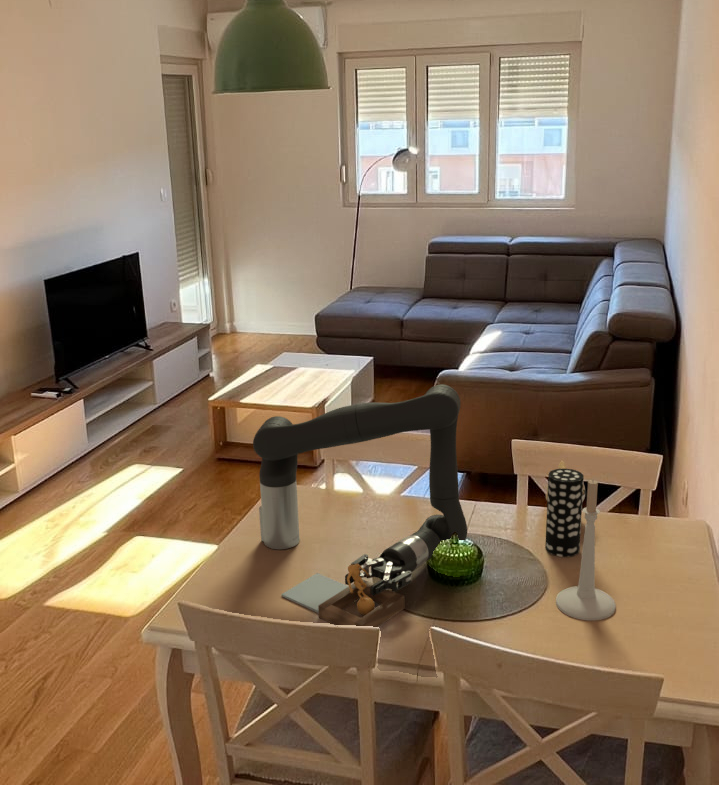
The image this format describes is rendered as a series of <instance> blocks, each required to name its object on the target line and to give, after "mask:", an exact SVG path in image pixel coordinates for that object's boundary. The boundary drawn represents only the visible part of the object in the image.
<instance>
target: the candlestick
mask: <svg viewBox="0 0 719 785" xmlns="http://www.w3.org/2000/svg"><path fill="white" fill-rule="evenodd" d="M598 485H599V482H598V481H597V480H594V479H589V480H588V481H587V491H586V507H584V508H583V507H582V512H583V513H584V516H583V517H584V519H585V521H586V524H585V525H584V535H583V536H584V537H583V544H582V552H581V561H580V568H579V569H580V571H579V579H578V585H575V586H569V587H567V588H565V589H562V590H561V591H560V592H558V593H557V595H556V598H555V604H556V607H557V608H558V609H559V611H561V612H562V613H563V614H565V615H567V616H569V617H571V618H574V619H578V620H582V621H601V620H605V619H607V618H610V617H611V616H613V614H614V613H615V612H616V605H617V604H616V601H615V600H614V598H613V597H612V596H611V595H610V594H608V593H607V592H605V591H603V590H601V589H599V588H596V586H595V585H596V584H595V583H596V582H595V580H596V577H595V576H596V574H595V573H596V572H595V570H596V567H595V566H596V565H595V562H596V560H595V558H596V556H595V554H596V547H595V546H596V544H595V543H596V542H595V541H596V531H595V530H596V525H595V522H596V520H598V514H600V513H601V511H600V509H598V507H597V500H598Z"/></svg>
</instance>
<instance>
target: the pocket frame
mask: <svg viewBox="0 0 719 785" xmlns="http://www.w3.org/2000/svg"><path fill="white" fill-rule="evenodd" d="M362 580H363V581H364V583H365V584H366V585H367V586H366V588H365V589H364V590H363V592H364V593H365V595H367V596H368V597H370V598H371V599H372V600H373V601H374V603H377V604H379V605H378V606H375V609H374V610H372V611H371V612H369V613H368V614H366V615H362V617H359V616H358V615H356V614H354V613H351V612H348V611H347V610H344V609H346V608H347V607H349V606H350V605H352V604H353V603H355V602H356V601H359V599H360V597H359V595H358V591H359V589H358V588H357V587H356V586H355V585H354V582H353V583H352V584H351V588H352V589H353V592H354V593H353V592H350V587H347V588H345V589H344V590H342V591H341V592H339V593H338V594H336V595H334V596H333V597H331V598H330V599H328V600H326V601H325V602H323V603H322V604H320V605H319V606H318V609H319V613H318V618H319V619H321V620H323V621H325V622H328V623H330V624H332V625H334V626H336V625H356V626H373V627H377V628H379V627H380V626H381V625H383V624H384V623H385V622H387V621H388V620H390V619H391V618H393V617H394V616H396V615H397V614H398V613H400V612H401V611H402V610H404V609H405V595H403V594H400V593H398V592H393V591H392V590H391V589H388V590H384V591H382V592H381V593H379V594H377V595H375V596H373V595H371V594H370V587H371V586H372V585H373V584H374V583H373V582H371V581H368V580H366V579H364V578H362ZM361 586H362V585H361ZM362 587H363V586H362ZM352 593H353V594H352ZM360 595H361V596H362V597H364V596H363V594H362V593H360Z"/></svg>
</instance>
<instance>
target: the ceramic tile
mask: <svg viewBox="0 0 719 785" xmlns="http://www.w3.org/2000/svg"><path fill="white" fill-rule="evenodd" d="M347 587H349V585H346V584H345V583H343V582H339V581H337V580H335V579H332V578H330V577H328V576H326V575H323V574H320V573H318V572H317V573H315V574H313V575H311V576H309V577H308V578H306V579H305V580H303V581H301V582H300V583H298V584H296V585H294V586H292V587H291V588H290V589H288V590H285V591H284V592H282V593H281V597H282V598H285V599H287V600H289V601H290V602H293V603H296V604H298V605H300V606H302V607H304V608H307V609H308V610H311V611H313V612H315V613H317V614H319V609H318V606H319V605H320V604H322V603H323V602H325V601H326V600H328V599H330V598H331V597H333V596H334V595H336V594H338V593H339V592H341V591H342V590H344V589H345V588H347Z"/></svg>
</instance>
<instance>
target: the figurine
mask: <svg viewBox="0 0 719 785" xmlns="http://www.w3.org/2000/svg"><path fill="white" fill-rule="evenodd" d="M359 568H360V569H361V571H363V573H364V572H365V573H366V574H367V575H368V573H367V572H366V571H365V569H363V568H362V567H361V566H360V565H359V564H355V565H351V564H350V565H349V566H347V571H348V573H349V574H348V573H347V574H348V577H347V582H348V585H347V586H349V587H350V592H353V589H352V588H351V585H352V584H350V580H349V579H350V577H351V576H352V577H353V579H354V580H355V581H354V582H353V583H354V585H355V586H356V587H357V588H358V589H359V591H358V595H359V597H360V599H358V600H357V603H356V609H357V611H358V613H359V614H361V615H362V616H365V615H366V614H368V613H369V612H371V611H372V610H374V609H375V608H376V604H375V603H376V602H374V601H373V600H372V599H371V598H370V597H368V596H367V595H365V593H364V592H363V590H364V589H365V588H366V586H367V585H366V584H365V583H364V581H363V580H364V579H363V578H361V577H360V576H359V574H360V573H361V571H360V570H359ZM368 576H369V575H368ZM362 579H363V580H362ZM361 585H362V586H363V587H362V586H361ZM353 593H354V592H353ZM353 593H352V594H353ZM360 593H362V594H363V596H364V597H362V596H361V595H360Z"/></svg>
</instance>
